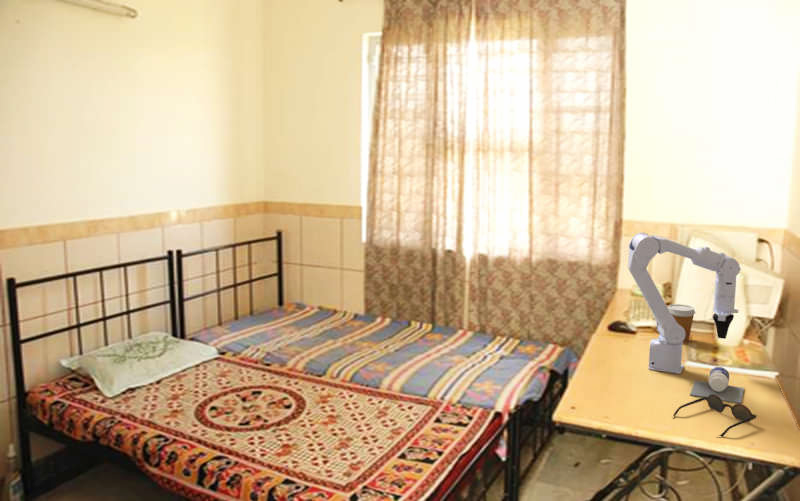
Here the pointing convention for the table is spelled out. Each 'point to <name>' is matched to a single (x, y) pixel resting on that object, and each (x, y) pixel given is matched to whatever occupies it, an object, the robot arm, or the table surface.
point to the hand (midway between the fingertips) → (721, 337)
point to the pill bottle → (718, 378)
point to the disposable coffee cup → (683, 317)
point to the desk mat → (727, 394)
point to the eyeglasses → (717, 404)
